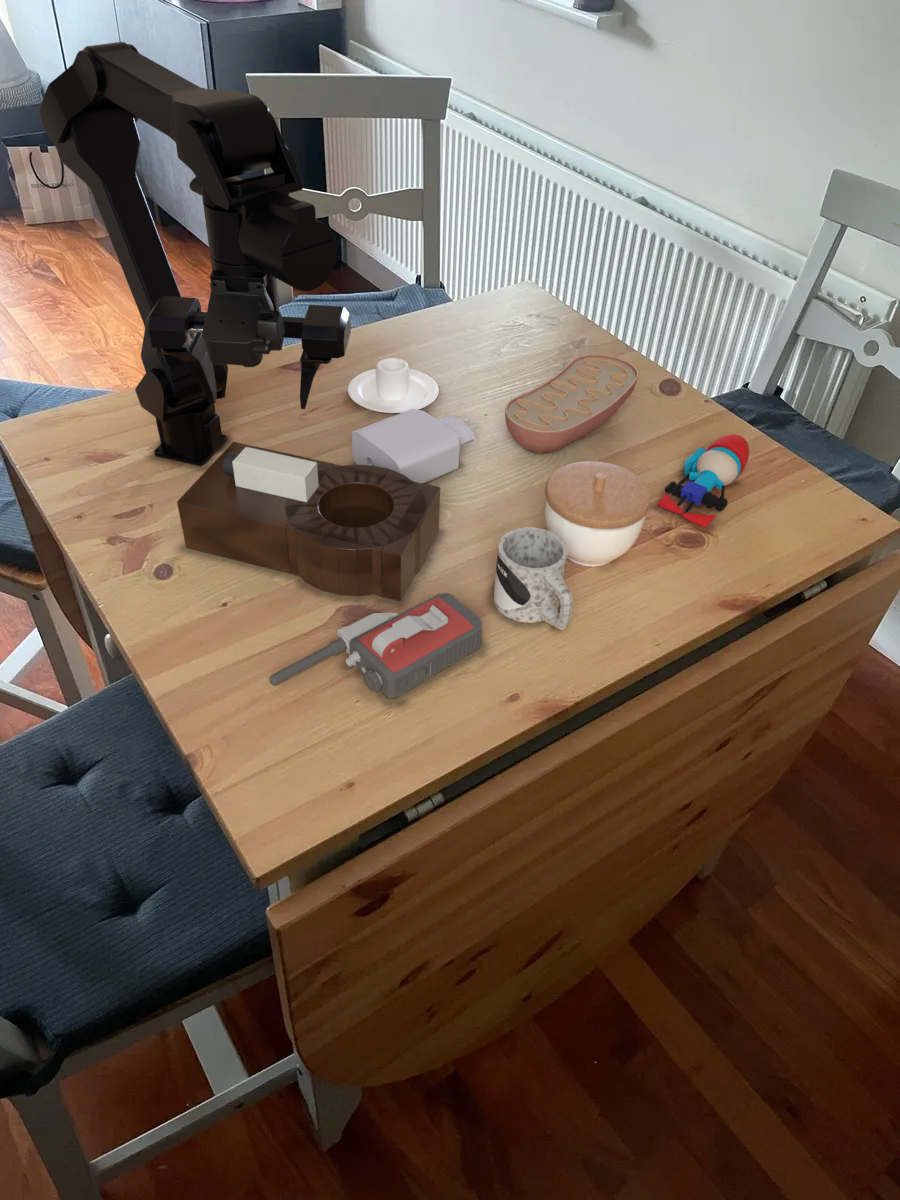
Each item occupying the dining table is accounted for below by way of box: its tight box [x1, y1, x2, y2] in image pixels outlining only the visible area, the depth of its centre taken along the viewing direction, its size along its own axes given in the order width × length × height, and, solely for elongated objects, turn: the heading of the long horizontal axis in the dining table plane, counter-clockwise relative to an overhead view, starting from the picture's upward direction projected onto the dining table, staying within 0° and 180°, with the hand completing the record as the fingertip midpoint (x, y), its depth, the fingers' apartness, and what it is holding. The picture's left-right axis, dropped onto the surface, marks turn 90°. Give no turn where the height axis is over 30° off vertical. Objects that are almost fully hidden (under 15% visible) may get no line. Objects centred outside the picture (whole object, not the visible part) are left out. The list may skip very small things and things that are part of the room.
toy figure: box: [657, 433, 750, 528], centre depth 106 cm, size 8×5×15 cm
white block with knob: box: [223, 447, 319, 502], centre depth 94 cm, size 9×3×3 cm, turn 72°
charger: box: [351, 409, 480, 484], centre depth 109 cm, size 5×9×15 cm
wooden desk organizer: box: [176, 441, 441, 602], centre depth 96 cm, size 24×14×6 cm, turn 72°
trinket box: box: [544, 460, 652, 568], centre depth 95 cm, size 11×11×9 cm
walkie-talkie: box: [268, 592, 483, 700], centre depth 83 cm, size 9×4×20 cm
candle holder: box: [347, 357, 440, 414], centre depth 120 cm, size 12×12×4 cm
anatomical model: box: [504, 353, 639, 454], centre depth 115 cm, size 23×10×5 cm, turn 142°
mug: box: [493, 526, 574, 631], centre depth 89 cm, size 10×7×7 cm
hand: (258, 404), depth 93 cm, fingers open, 9 cm apart
